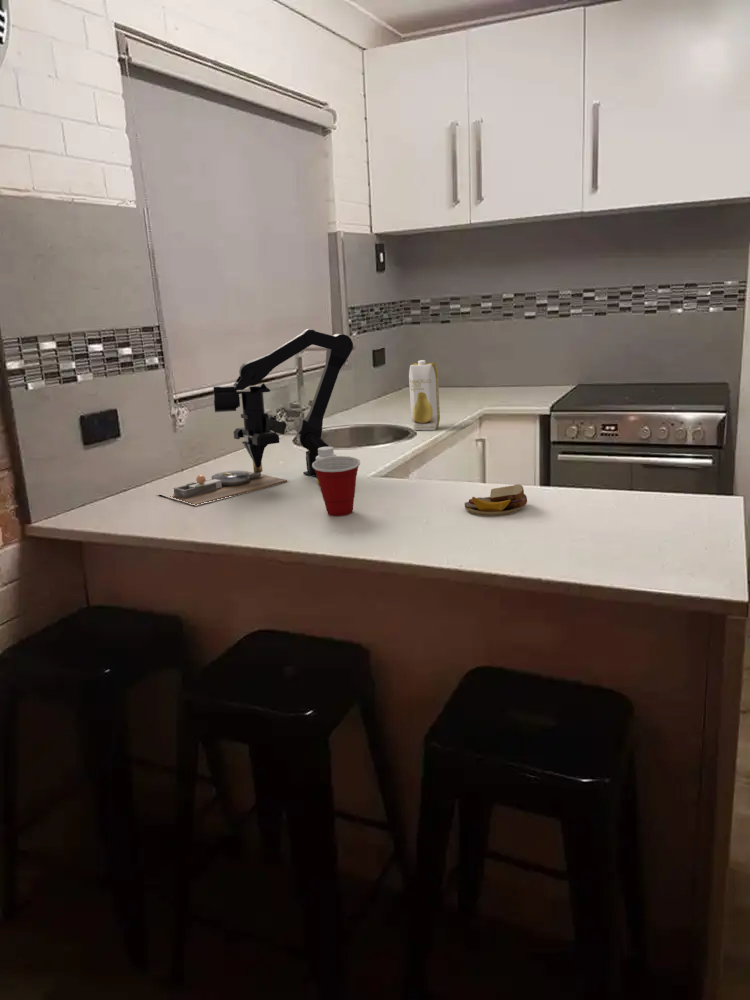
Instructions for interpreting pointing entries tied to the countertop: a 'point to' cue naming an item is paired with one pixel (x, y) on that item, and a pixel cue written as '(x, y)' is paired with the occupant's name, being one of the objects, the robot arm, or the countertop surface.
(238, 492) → the wooden base board
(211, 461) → the countertop surface
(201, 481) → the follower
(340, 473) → the plastic cup
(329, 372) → the robot arm
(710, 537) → the countertop surface
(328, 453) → the supplement bottle
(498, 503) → the toy sandwich meal
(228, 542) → the countertop surface
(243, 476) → the wheel
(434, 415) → the juice carton
